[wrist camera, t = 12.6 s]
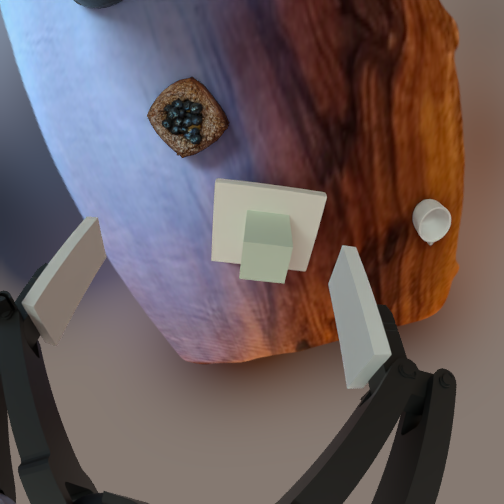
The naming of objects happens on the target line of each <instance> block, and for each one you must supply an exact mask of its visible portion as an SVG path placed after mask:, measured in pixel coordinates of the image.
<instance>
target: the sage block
mask: <svg viewBox="0 0 504 504" xmlns="http://www.w3.org/2000/svg"><path fill="white" fill-rule="evenodd" d="M292 250H293V242H292V234H291V226H290V218H289V215H284V214H276V213H269V212H260V211H252V210H247V215H246V223H245V232H244V240H243V249H242V258H241V267H240V276H239V279H247V280H256V281H266V282H275V283H284V282H285V278H286V274H287V270H288V266H289V262H290V258H291V254H292Z"/></svg>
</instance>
